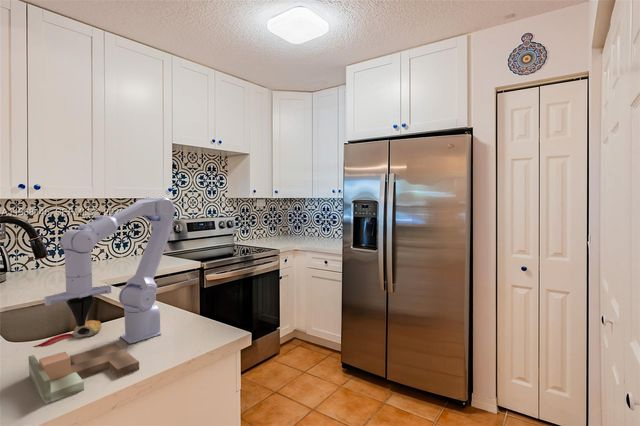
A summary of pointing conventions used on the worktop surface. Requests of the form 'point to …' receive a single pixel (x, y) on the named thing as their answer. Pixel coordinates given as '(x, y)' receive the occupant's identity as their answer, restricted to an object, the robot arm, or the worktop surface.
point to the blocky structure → (81, 371)
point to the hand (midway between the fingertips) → (80, 325)
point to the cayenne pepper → (54, 340)
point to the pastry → (87, 329)
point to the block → (56, 365)
